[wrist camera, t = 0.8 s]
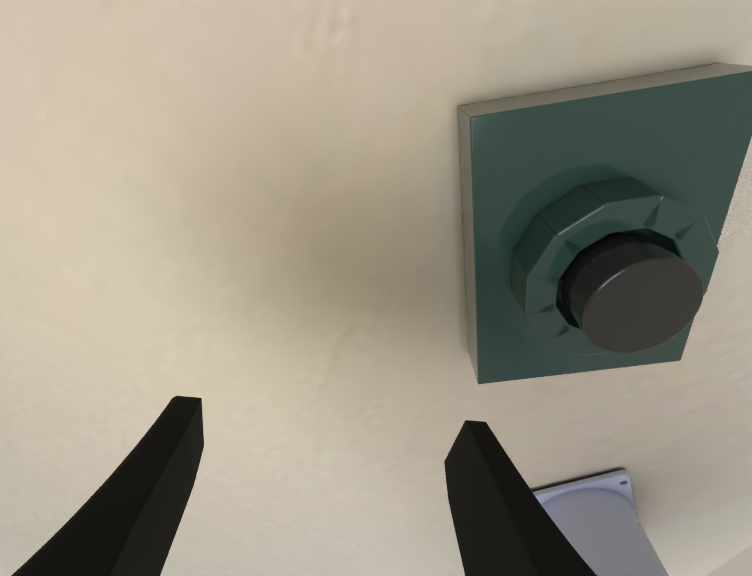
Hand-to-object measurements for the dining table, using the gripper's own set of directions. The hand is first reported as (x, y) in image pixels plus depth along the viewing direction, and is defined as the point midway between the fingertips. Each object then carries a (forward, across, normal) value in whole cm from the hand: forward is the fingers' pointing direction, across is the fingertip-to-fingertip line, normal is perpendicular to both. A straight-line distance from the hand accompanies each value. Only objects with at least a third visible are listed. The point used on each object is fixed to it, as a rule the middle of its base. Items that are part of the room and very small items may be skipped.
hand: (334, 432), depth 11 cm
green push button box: (+10, -10, -3) cm, 15 cm away
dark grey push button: (+6, -10, -3) cm, 12 cm away
